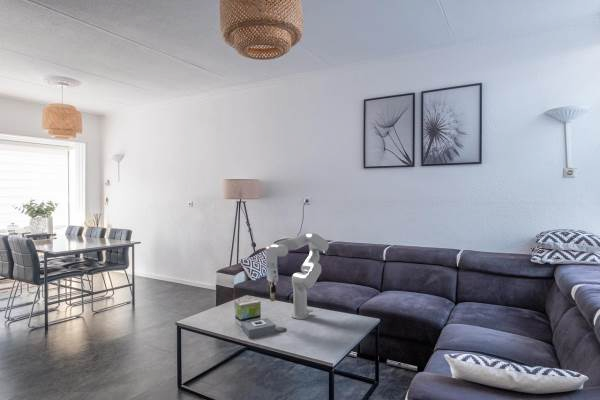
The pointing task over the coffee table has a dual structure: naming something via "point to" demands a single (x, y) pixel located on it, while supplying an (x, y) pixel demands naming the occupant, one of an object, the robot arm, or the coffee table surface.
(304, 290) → the robot arm
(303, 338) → the coffee table surface
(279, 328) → the coaster
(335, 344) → the coffee table surface
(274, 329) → the grey socket block
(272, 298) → the stylus
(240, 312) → the tea box
